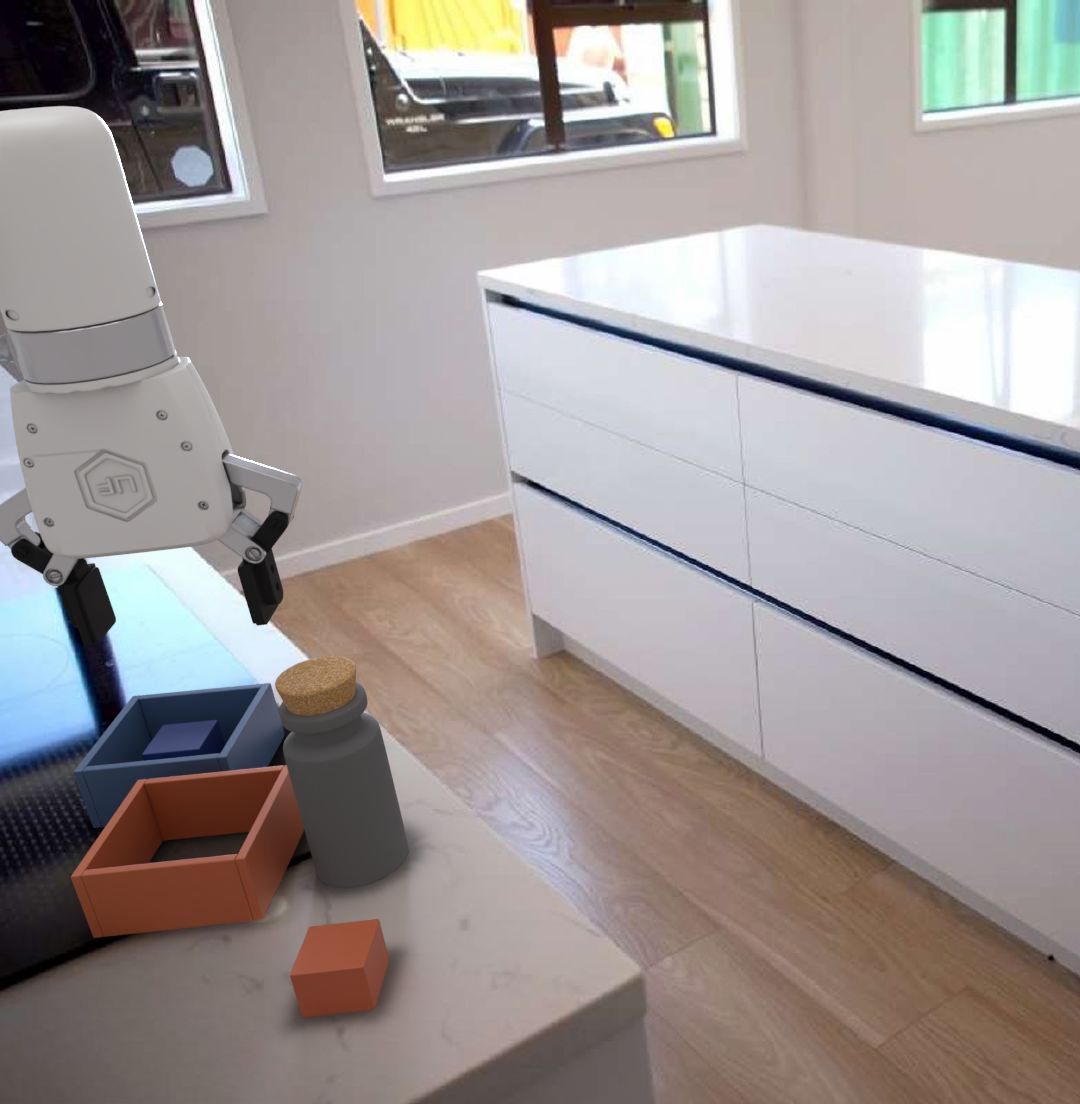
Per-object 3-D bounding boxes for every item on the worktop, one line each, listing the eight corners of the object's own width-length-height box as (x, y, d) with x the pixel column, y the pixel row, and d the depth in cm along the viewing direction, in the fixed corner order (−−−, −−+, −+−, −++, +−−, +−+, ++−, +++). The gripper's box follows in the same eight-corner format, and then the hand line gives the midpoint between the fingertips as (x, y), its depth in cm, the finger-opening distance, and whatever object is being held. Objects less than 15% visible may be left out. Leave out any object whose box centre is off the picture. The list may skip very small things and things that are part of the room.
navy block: (156, 801, 91) (141, 754, 89) (177, 769, 94) (162, 724, 93) (213, 795, 91) (199, 748, 89) (231, 764, 95) (218, 719, 93)
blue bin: (96, 838, 88) (72, 772, 86) (153, 757, 97) (132, 695, 95) (246, 823, 89) (226, 756, 86) (287, 744, 98) (270, 682, 96)
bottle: (300, 894, 81) (243, 694, 75) (352, 838, 86) (302, 647, 80) (380, 904, 80) (329, 702, 74) (428, 847, 85) (383, 654, 79)
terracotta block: (305, 1030, 70) (289, 975, 69) (323, 979, 74) (308, 925, 72) (378, 1021, 71) (363, 966, 69) (392, 971, 74) (379, 918, 73)
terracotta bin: (97, 949, 78) (70, 876, 75) (160, 847, 87) (137, 779, 84) (266, 931, 78) (244, 858, 76) (311, 831, 87) (292, 764, 85)
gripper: (-109, 384, 64) (5, 673, 71) (239, 349, 66) (317, 636, 73) (-37, 346, 71) (61, 614, 78) (277, 316, 73) (345, 581, 80)
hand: (184, 624), depth 76 cm, fingers open, 9 cm apart
